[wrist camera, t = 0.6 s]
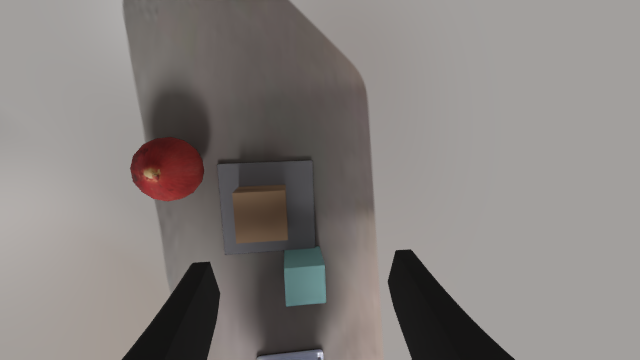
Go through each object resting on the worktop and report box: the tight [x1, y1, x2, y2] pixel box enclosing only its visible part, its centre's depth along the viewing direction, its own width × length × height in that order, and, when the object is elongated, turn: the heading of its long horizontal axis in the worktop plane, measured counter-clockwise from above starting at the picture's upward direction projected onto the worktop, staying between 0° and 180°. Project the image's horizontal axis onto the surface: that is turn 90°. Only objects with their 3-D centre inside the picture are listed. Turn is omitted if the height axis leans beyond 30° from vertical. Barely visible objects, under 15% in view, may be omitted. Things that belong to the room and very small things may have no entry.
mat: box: [217, 160, 315, 255], centre depth 31 cm, size 10×10×1 cm
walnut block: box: [232, 185, 288, 244], centre depth 29 cm, size 5×5×4 cm
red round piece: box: [130, 137, 204, 201], centre depth 26 cm, size 6×6×8 cm
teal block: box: [284, 246, 326, 307], centre depth 30 cm, size 4×4×5 cm
